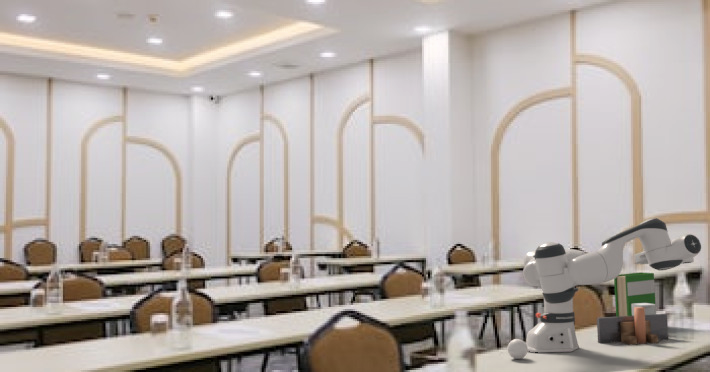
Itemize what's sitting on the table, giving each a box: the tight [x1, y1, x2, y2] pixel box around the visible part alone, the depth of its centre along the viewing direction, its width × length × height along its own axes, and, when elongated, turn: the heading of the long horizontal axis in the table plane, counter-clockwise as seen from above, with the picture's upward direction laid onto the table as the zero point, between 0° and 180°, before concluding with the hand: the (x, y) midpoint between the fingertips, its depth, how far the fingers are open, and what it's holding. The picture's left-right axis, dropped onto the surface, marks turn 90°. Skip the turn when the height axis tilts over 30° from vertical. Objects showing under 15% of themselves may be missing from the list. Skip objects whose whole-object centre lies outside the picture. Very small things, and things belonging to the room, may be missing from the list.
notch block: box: [620, 320, 659, 346], centre depth 294 cm, size 12×7×8 cm, turn 99°
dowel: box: [634, 307, 647, 344], centre depth 293 cm, size 4×4×14 cm
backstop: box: [596, 313, 669, 344], centre depth 298 cm, size 30×2×10 cm, turn 99°
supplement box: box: [631, 303, 657, 316], centre depth 316 cm, size 7×7×13 cm
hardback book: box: [613, 271, 657, 317], centre depth 333 cm, size 18×7×24 cm, turn 118°
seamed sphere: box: [501, 338, 529, 360], centre depth 270 cm, size 10×7×7 cm
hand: (652, 261), depth 283 cm, fingers open, 8 cm apart
